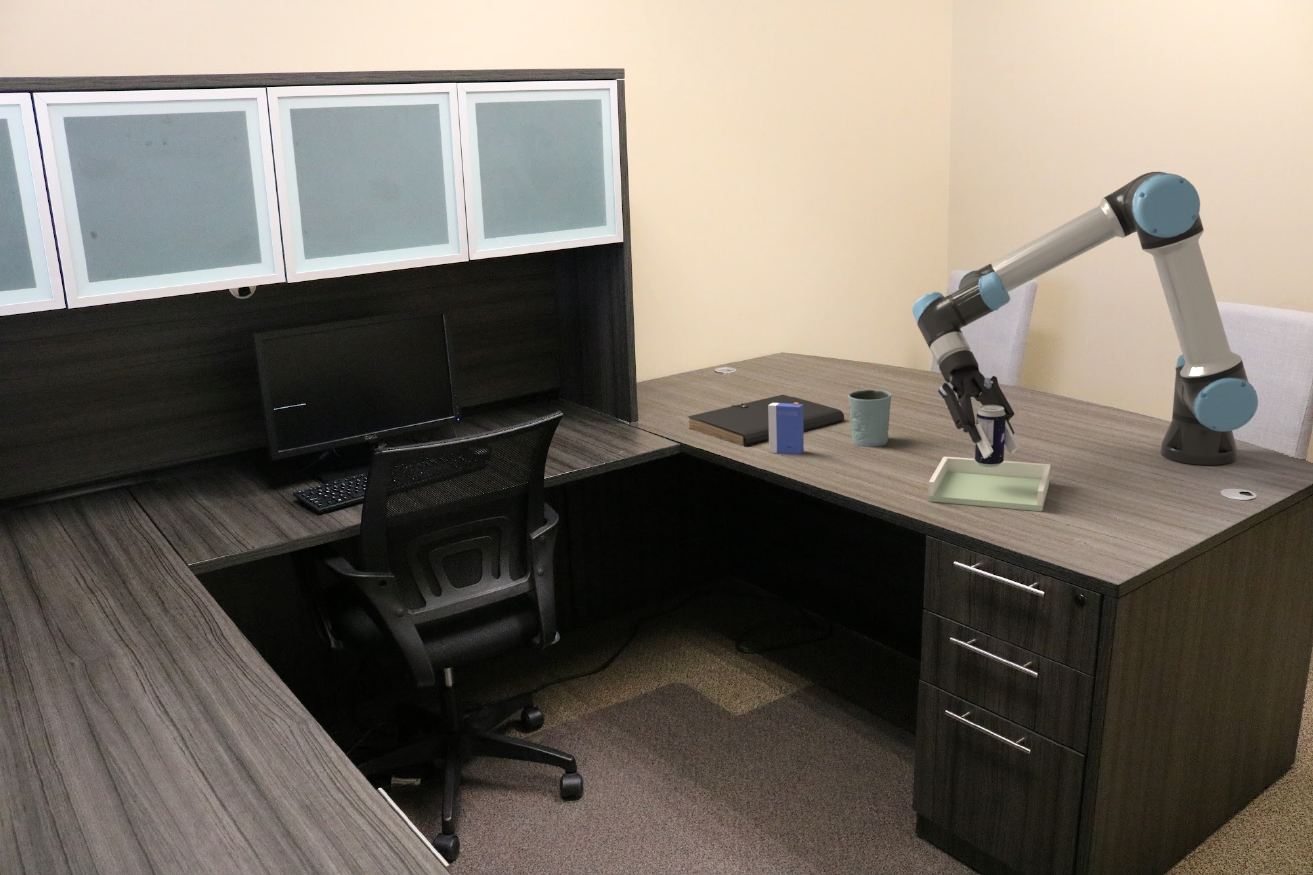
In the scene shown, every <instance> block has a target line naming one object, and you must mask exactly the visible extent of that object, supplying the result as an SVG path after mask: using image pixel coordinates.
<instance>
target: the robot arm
mask: <svg viewBox="0 0 1313 875" xmlns="http://www.w3.org/2000/svg"><path fill="white" fill-rule="evenodd" d="M1100 200H1101V201H1100V203H1099V205H1097V206H1095V207H1094V208H1091V209H1090V210H1087V211H1086V212H1084V213H1082V214H1080V215H1078V216H1077V217H1074V218H1072V219H1070V220H1069V221H1067V222H1066V223H1064V224H1062V225H1059V226H1058V227H1056V228H1054V229H1053V230H1049V232H1047V233H1045V234H1042V235H1041V236H1039V237H1038V238H1034V239H1033V240H1032V241H1030V242H1027V244H1024V245H1022V246H1020V247H1018V248H1017V249H1015V250H1013V251H1011V252H1009V253H1007V254H1005V255H1004V256H1002V257H1000V258H998V259H996V260H994V261H993V262H992V261H991V263H989V264H987V265H985V266H982V267H981V268H979V269H975V270H971V271H969V272H966V274H964V275H963V277H962V278H961V279H960V281H959V284H958V288H957V289H958V290H956V291H954V292H952V293H951V294H949V295H946V296H944V295H943V293H941V292H938V291H931V292H930V293H925V294H923V295H922V296H920V297H919V298H918V299H917V300H915V302H914V303H913V305H912V309H911V310H912V314H913V317H914V319H915V321H916V325H917V327H918V329H919V332H920V333H921V335H922V336H923V339H924V341H925V342H926V343H925V344H927V346H928V349H929V350H930V352H931V355H932V357H933V359H934V361H935V363H936V365H937V366H938V369H939V371H940V373H941V375H942V377H943V380H944V381H945V382H944V383H943V384H942V385H941V387H939V389H938V391H937V392H938V393H939V395H940V396H941V397H942V399H944V402H945V405H946V406H947V409H948V412H949V414H950V416H951V419H952V421H953V423H954V426H955V427H956V429H958V430H961V429H962V431H963V432H964V433H966V434H967V433H968V435H969V437H970V439H971V440H972V442H973V443H974V444H976V443H977V445H978V447H979V449H980V451H981V453H982V456H983V458H987V457H988V456H989V455H990V454H991V453H992V452H993V449H992V447H991V445H990V443H989V441H988V439H987V437H986V435H985V433H984V431H983V429H982V427H981V425H980V424H977V425H976V418H975V417H976V416H975V413H974V408H973V402H972V398H974V399H975V400H976V402H979V403H980V404H981V406H983V405H998V406H1002V407H1004V411H1005V413H1006V423H1005V444H1004V446H1005V448H1006V449H1007V451H1008V454H1009V455H1012V454H1014V453H1015V451H1017V450H1018V449H1019V448H1020V445H1019V443H1018V441H1017V439H1016V437H1015V436H1014V434H1015V431H1014V429H1013V426H1012V424H1011V422H1010V419H1012V418H1013V417H1014V416H1015V412H1014V410H1013V408H1012V406H1011V405H1010V402H1009V401H1008V399H1007V397H1006V396H1005V394H1004V393H1003V391H1002V389H1001V387H1000V386H999V381H998V378H997V376H996V375H993V376H991V377H985V375H983V374H982V373H981V371H980V368H979V367H980V366H979V363H978V361H977V359H976V357H975V355H974V354H973V351H971V347H970V344H969V343H968V341H967V340H966V337H965V336H964V334H963V331H962V328H964V327H967V326H968V325H970V324H972V323H974V322H976V321H977V320H979V319H981V318H983V317H985V316H987V315H989V314H991V313H993V312H995V311H998V310H999V309H1000V308H1002V307H1003V306H1005V305H1007V304H1008V303H1009V302H1010V301H1011V296H1010V294H1009V293H1010V292H1012V291H1013V290H1015V289H1016V288H1019V287H1021V286H1022V285H1024V284H1027V283H1028V282H1030V281H1032V280H1034V279H1036V278H1038V277H1040V276H1042V275H1043V274H1046V273H1048V272H1049V271H1051V270H1053V269H1055V268H1057V267H1059V266H1061V265H1063V264H1065V263H1067V262H1069V261H1071V260H1073V259H1074V258H1077V257H1079V256H1080V255H1083V254H1085V253H1086V252H1088V251H1090V250H1092V249H1094V248H1096V247H1098V246H1101V245H1102V244H1104V243H1106V242H1108V241H1110V240H1113V239H1114V238H1116V237H1119V238H1122V239H1124V238H1126V237H1128V236H1130V235H1132V234H1135V233H1136V234H1137V238H1138V240H1139V243H1140V247H1141V249H1142V252H1143V251H1144V252H1146V253H1148V254H1150V255H1151V256H1152V258H1153V261H1154V264H1155V267H1156V271H1157V274H1158V278H1159V281H1160V284H1161V287H1162V291H1163V294H1164V297H1165V300H1166V304H1167V306H1168V310H1169V314H1170V317H1171V321H1172V324H1173V327H1174V330H1175V332H1176V334H1175V335H1176V337H1177V339H1178V342H1179V343H1178V344H1179V346H1180V349H1181V353H1182V354H1181V355H1179V357H1178V358H1177V360H1176V366H1175V369H1174V370H1175V378H1174V380H1175V381H1174V391H1173V402H1172V403H1173V404H1172V417H1171V421H1170V423H1169V425H1168V428H1167V429H1166V432H1165V434H1164V436H1163V439H1162V441H1161V445H1160V454H1161V455H1162V457H1164V458H1166V459H1168V460H1171V461H1175V462H1179V463H1184V464H1190V465H1198V466H1199V465H1200V466H1219V465H1226V464H1229V463H1233V462H1235V461H1236V459H1237V455H1238V454H1237V452H1238V448H1237V444H1236V440H1235V436H1234V431H1235V430H1238V429H1240V428H1242V427H1243V426H1245V425H1247V424H1248V423H1249V422H1250V421H1251V420H1252V418H1254V416H1255V415H1256V413H1257V410H1258V406H1259V398H1258V394H1257V393H1258V392H1257V390H1256V389H1255V388H1254V386H1253V385H1252V384H1251V383H1250V382H1249V379H1248V375H1247V372H1246V369H1245V366H1244V362H1243V359H1242V356H1240V355H1239V354H1237V353H1235V352H1233V351H1232V350H1231V348H1230V345H1229V341H1228V337H1227V335H1226V331H1225V327H1224V324H1223V321H1222V317H1221V314H1220V310H1219V308H1218V304H1217V300H1216V297H1215V294H1214V291H1213V290H1214V289H1213V286H1212V283H1211V279H1210V277H1209V273H1208V271H1207V269H1208V268H1207V266H1206V262H1205V259H1204V256H1203V253H1202V249H1201V246H1200V243H1199V241H1200V238H1201V236H1202V235H1203V233H1204V232H1205V229H1204V226H1203V225H1204V224H1203V223H1202V222H1203V221H1202V219H1201V215H1200V211H1201V199H1200V195H1199V193H1198V191H1197V189H1196V188H1195V186H1194V185H1193V184H1192V183H1191V181H1189V180H1188V179H1186V178H1185V177H1183V176H1181V175H1178V174H1176V173H1175V174H1173V173H1168V172H1164V171H1151V172H1146V173H1144V174H1140V175H1139V176H1137V177H1136V178H1134V179H1133V180H1131V181H1129V182H1128V183H1126V184H1124V185H1123V186H1121V187H1120V188H1118V189H1117V190H1115V191H1113V192H1111V193H1110V194H1108V195H1106V196H1104V197H1102V198H1101V199H1100Z"/></svg>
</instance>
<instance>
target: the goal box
mask: <svg viewBox="0 0 1313 875" xmlns="http://www.w3.org/2000/svg"><path fill="white" fill-rule="evenodd" d="M1051 466H1052V465H1051V463H1039V462H1038V463H1036V462H1024V461H1023V462H1022V461H1011V460H1010V461H1009V460H1004V461H1003V462H1002V463H1001V464H1000V465H999V466H997V467H984V466H980V465H979V464H978V462H976V460H975V458H970V457H957V456H942V459H941V460H940V462H939V464H937V467H936V468H935V471H934V472H933V473H932V475H931V478H930V479H929V481H928V496H927V498H928V499H927V500H928V501H927V502H933V503H943V504H956V505H966V506H976V507H977V506H978V507H986V508H998V509H999V508H1000V509H1008V510H1009V509H1011V510H1022V511H1033V512H1043V510H1044V506H1045V501H1046V500H1047V495H1048V490H1049V487H1050V482H1051V481H1050V480H1051Z"/></svg>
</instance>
